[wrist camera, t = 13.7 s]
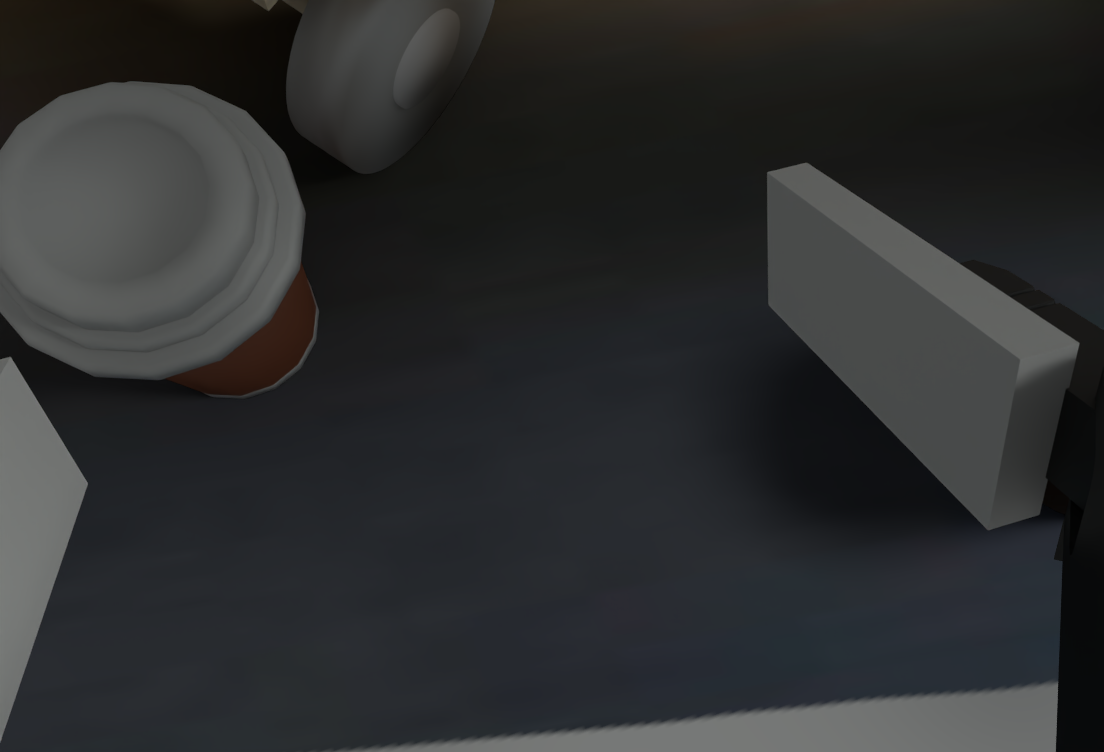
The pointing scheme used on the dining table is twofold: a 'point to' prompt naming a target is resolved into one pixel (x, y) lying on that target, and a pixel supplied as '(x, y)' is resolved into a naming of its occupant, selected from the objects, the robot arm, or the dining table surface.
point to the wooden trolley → (377, 72)
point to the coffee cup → (155, 240)
